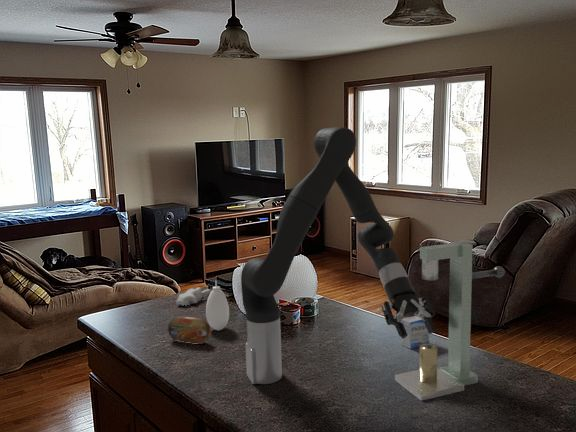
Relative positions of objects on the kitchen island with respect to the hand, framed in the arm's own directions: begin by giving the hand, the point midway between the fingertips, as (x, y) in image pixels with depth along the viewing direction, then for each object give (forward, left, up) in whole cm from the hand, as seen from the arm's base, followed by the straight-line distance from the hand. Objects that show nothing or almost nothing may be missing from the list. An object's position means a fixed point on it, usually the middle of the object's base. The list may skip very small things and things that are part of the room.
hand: (418, 334), depth 138 cm
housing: (0, -4, -11) cm, 12 cm away
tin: (-53, +52, -13) cm, 75 cm away
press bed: (+9, -4, -12) cm, 16 cm away
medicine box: (+12, +20, -13) cm, 26 cm away
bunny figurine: (-44, +94, -13) cm, 105 cm away
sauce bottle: (-42, +59, -13) cm, 73 cm away
